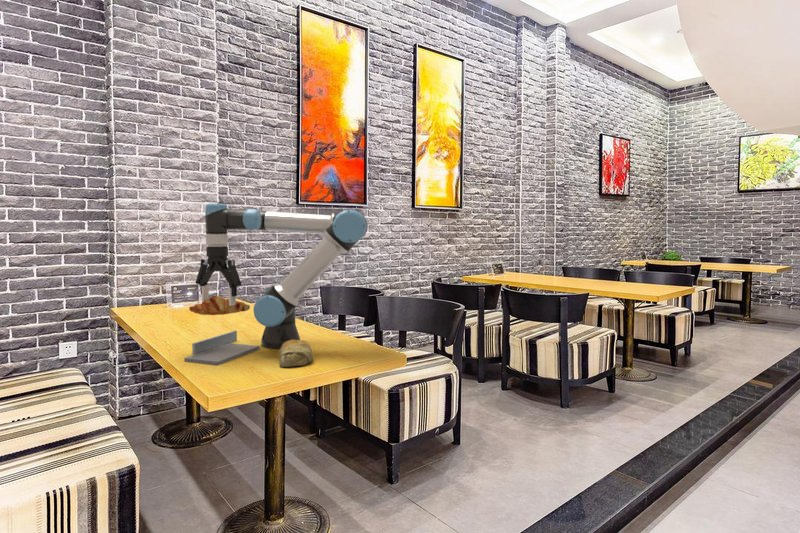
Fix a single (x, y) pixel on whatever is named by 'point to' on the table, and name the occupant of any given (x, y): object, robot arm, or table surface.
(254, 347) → the serving plate
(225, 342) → the divider
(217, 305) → the croissant
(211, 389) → the table surface
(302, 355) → the pastry
